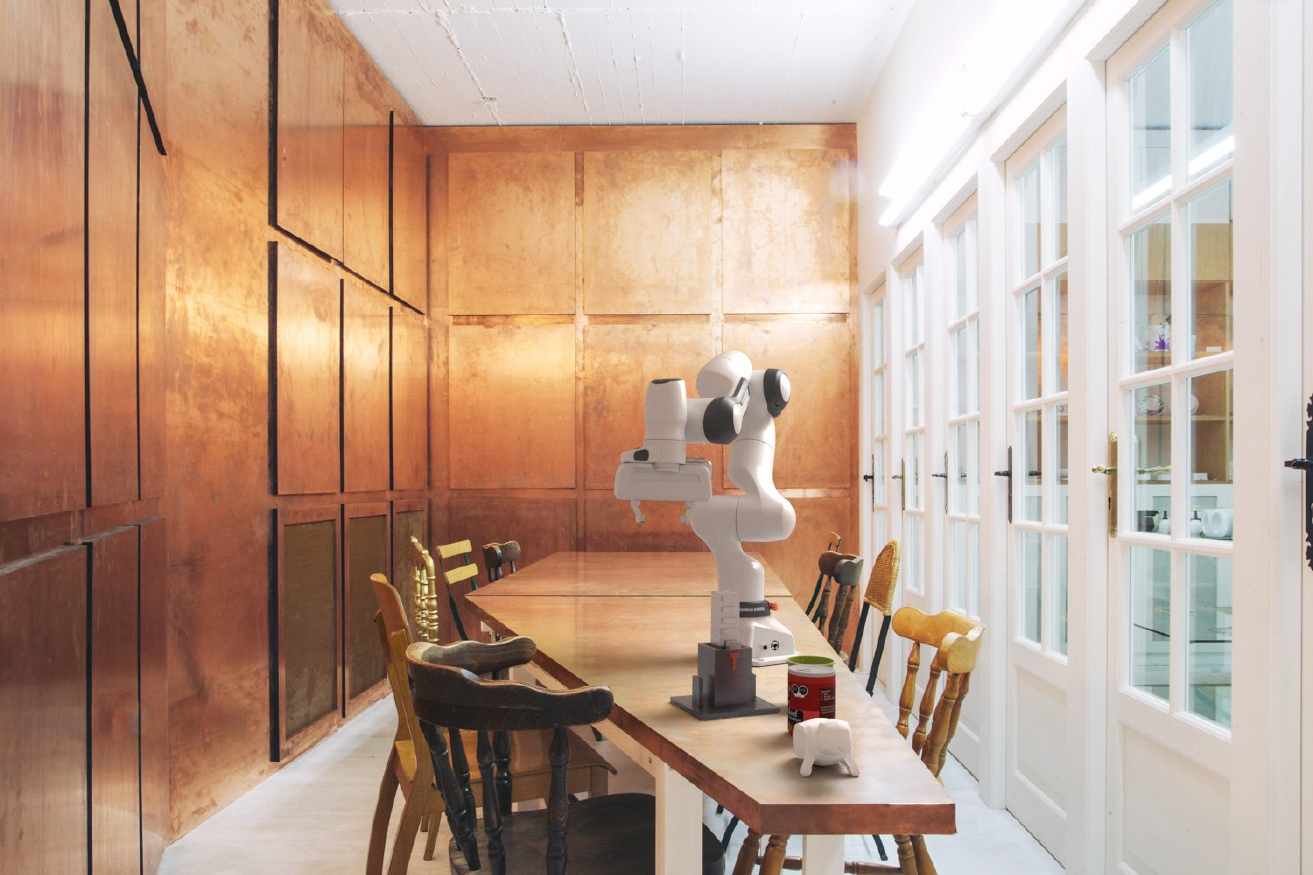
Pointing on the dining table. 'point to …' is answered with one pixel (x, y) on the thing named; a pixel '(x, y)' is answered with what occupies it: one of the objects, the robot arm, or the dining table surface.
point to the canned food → (810, 693)
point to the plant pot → (810, 660)
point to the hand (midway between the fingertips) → (662, 523)
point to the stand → (724, 685)
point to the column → (724, 618)
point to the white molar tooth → (824, 744)
